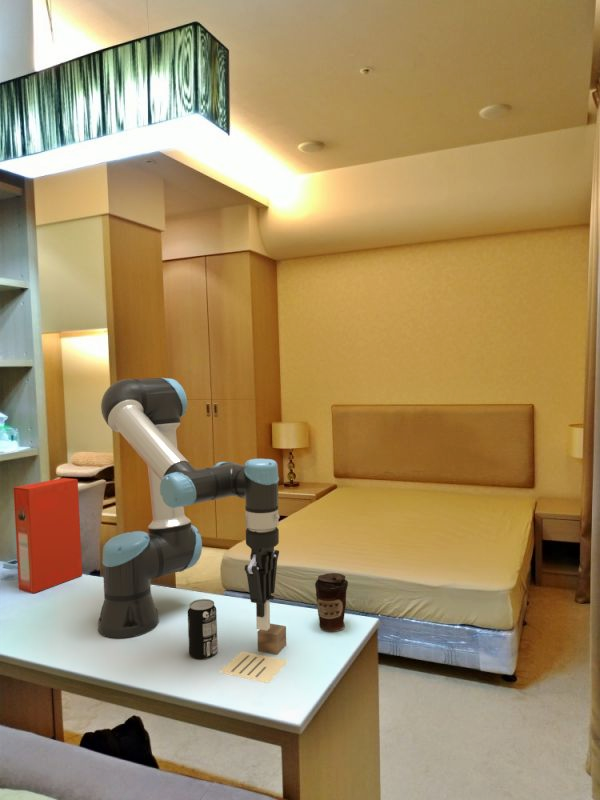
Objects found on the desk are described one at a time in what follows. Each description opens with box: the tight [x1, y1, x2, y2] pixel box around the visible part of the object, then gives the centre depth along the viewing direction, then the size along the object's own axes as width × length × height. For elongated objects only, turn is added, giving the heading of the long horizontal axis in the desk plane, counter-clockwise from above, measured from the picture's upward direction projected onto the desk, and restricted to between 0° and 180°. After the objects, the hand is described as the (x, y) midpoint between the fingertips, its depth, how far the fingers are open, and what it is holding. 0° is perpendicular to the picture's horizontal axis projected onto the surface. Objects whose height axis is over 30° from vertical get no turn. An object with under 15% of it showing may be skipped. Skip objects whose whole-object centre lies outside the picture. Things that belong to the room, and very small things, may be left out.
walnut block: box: [256, 623, 287, 655], centre depth 135 cm, size 5×5×5 cm
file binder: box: [13, 477, 83, 594], centre depth 182 cm, size 8×17×32 cm, turn 149°
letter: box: [219, 650, 289, 684], centre depth 126 cm, size 12×10×1 cm
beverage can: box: [187, 598, 219, 660], centre depth 133 cm, size 7×7×12 cm
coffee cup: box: [314, 572, 349, 632], centre depth 145 cm, size 9×8×13 cm
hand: (263, 628), depth 132 cm, fingers closed
